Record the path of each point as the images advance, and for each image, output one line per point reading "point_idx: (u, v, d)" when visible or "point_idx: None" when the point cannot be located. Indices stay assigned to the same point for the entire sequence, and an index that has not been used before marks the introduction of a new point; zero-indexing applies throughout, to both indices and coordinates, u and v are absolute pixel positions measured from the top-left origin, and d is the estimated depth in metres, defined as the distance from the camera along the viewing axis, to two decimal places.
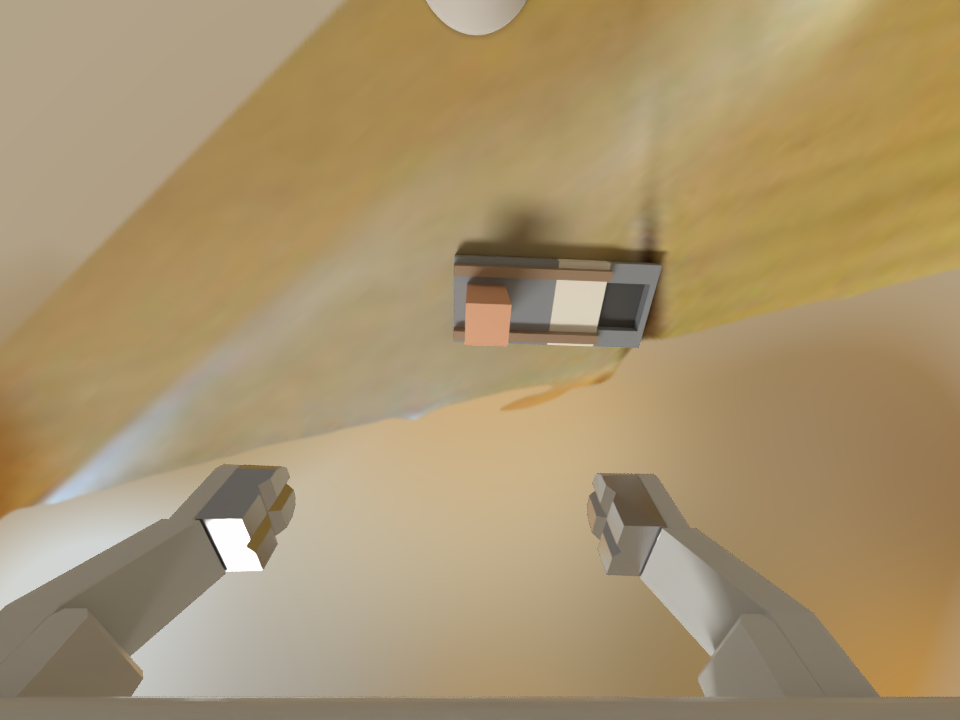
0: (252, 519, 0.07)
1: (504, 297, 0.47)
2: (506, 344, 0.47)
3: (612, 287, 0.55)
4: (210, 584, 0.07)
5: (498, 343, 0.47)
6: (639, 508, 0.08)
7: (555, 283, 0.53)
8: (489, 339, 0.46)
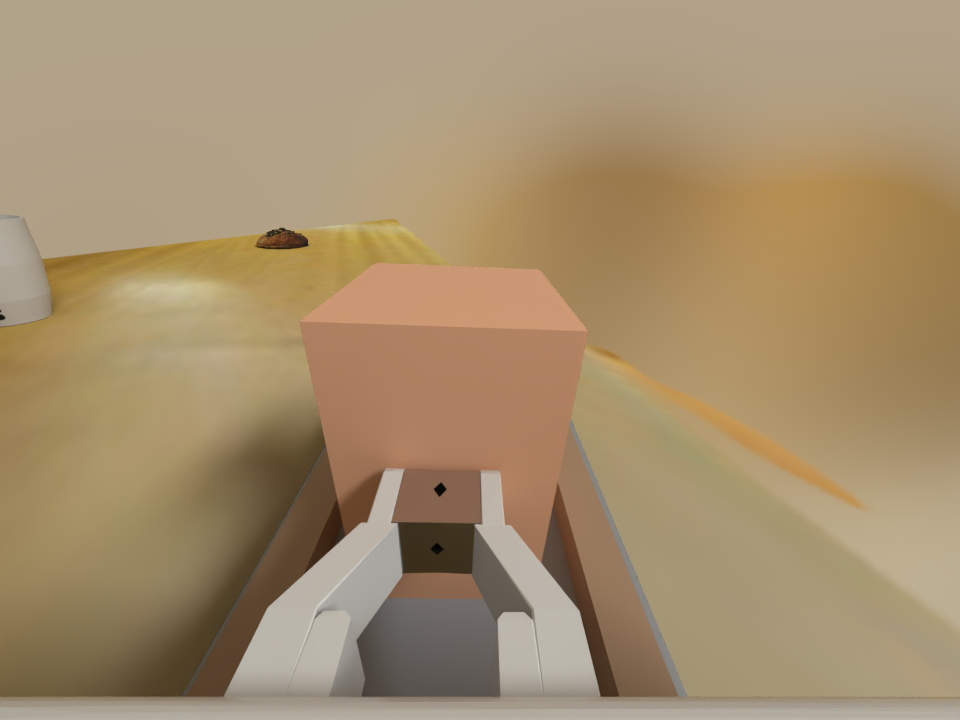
0: None
1: None
2: (532, 270, 0.12)
3: None
4: (394, 586, 0.08)
5: (534, 277, 0.11)
6: (462, 505, 0.07)
7: None
8: (524, 287, 0.10)
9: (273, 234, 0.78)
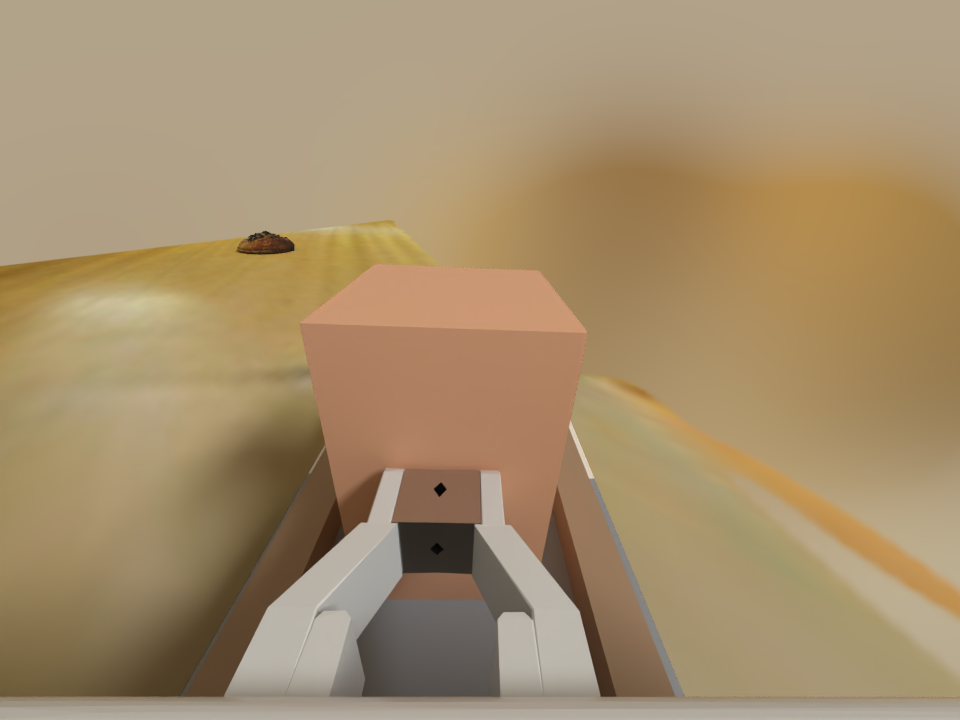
0: None
1: None
2: (532, 271, 0.12)
3: None
4: (394, 586, 0.08)
5: (534, 279, 0.11)
6: (461, 505, 0.07)
7: None
8: (524, 289, 0.10)
9: (255, 238, 0.72)
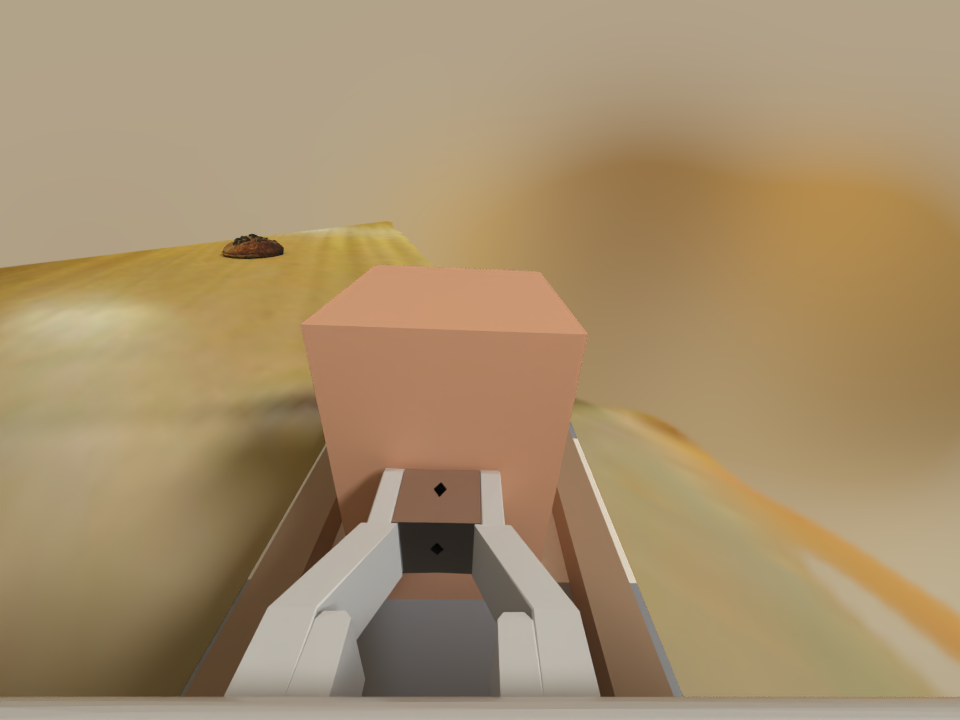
0: None
1: None
2: (532, 272, 0.12)
3: None
4: (394, 586, 0.08)
5: (534, 280, 0.11)
6: (461, 505, 0.07)
7: None
8: (524, 290, 0.10)
9: (241, 241, 0.67)
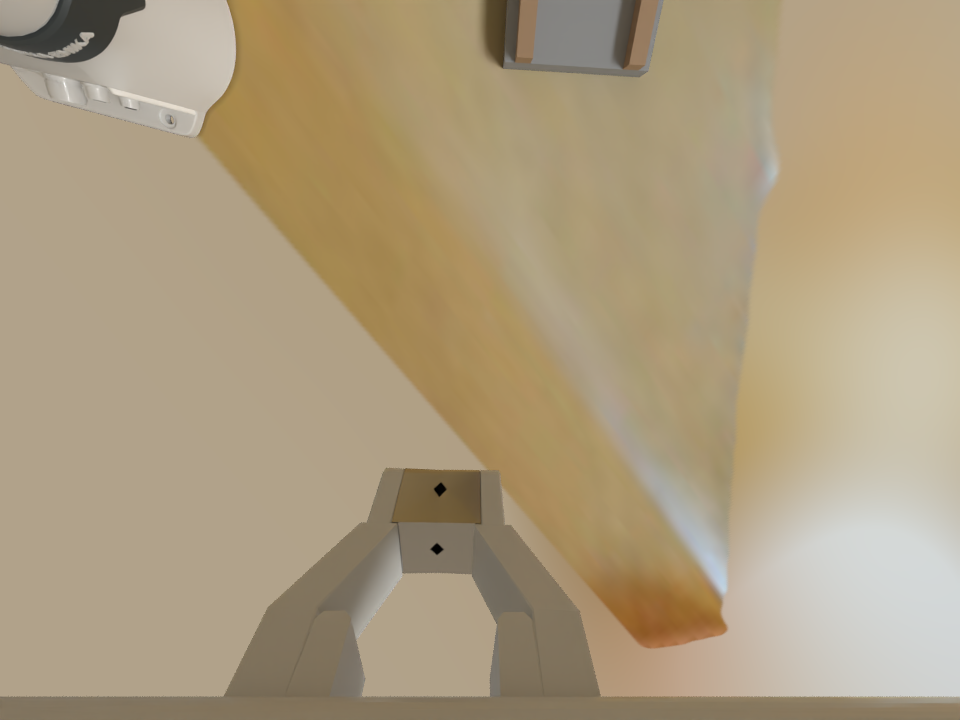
0: None
1: None
2: None
3: None
4: (394, 586, 0.08)
5: None
6: (461, 505, 0.07)
7: None
8: None
9: None
